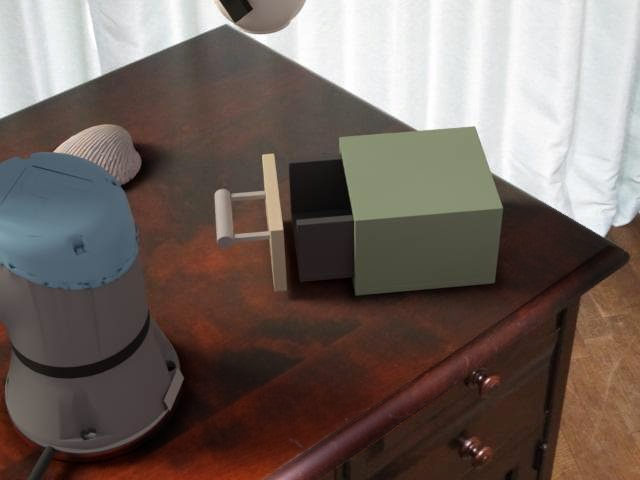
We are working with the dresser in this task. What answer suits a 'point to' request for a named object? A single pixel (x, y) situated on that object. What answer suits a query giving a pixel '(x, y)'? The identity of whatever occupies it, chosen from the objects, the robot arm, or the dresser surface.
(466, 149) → the cabinet
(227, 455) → the dresser surface
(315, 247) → the drawer
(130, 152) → the seashell
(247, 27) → the trinket box
